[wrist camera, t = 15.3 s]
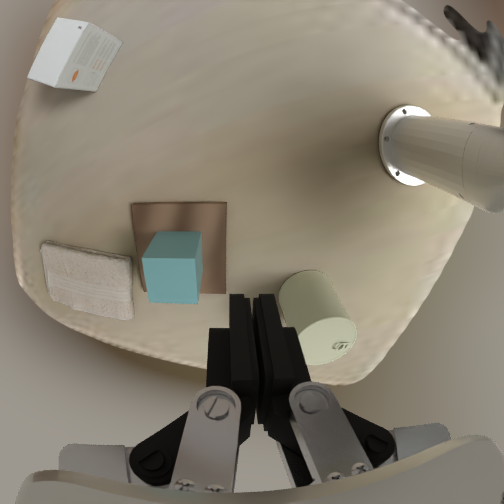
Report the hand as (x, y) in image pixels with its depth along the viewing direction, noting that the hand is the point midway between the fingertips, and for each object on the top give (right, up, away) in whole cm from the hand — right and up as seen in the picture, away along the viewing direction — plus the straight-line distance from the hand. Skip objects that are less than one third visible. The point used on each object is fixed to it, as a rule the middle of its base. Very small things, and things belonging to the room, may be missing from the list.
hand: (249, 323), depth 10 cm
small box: (-21, +29, +15) cm, 38 cm away
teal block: (-10, +3, +27) cm, 29 cm away
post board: (-10, +3, +28) cm, 30 cm away
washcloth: (-28, -1, +29) cm, 40 cm away
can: (+9, -4, +33) cm, 35 cm away
